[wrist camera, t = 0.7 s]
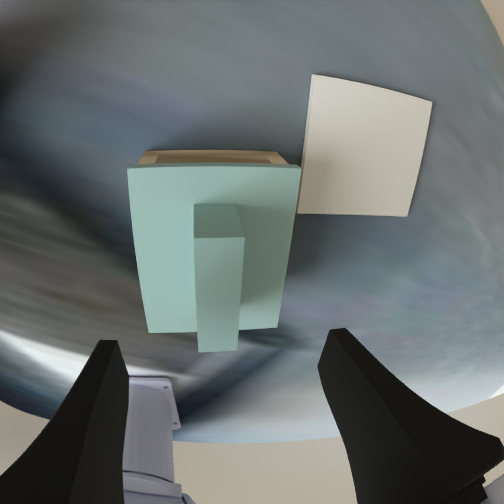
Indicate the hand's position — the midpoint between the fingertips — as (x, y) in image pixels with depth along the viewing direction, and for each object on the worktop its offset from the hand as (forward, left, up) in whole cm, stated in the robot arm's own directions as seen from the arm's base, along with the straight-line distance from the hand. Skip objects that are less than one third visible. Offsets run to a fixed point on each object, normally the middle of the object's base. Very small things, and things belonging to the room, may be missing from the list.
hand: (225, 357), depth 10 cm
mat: (+5, -9, -10) cm, 14 cm away
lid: (0, 0, -6) cm, 6 cm away
